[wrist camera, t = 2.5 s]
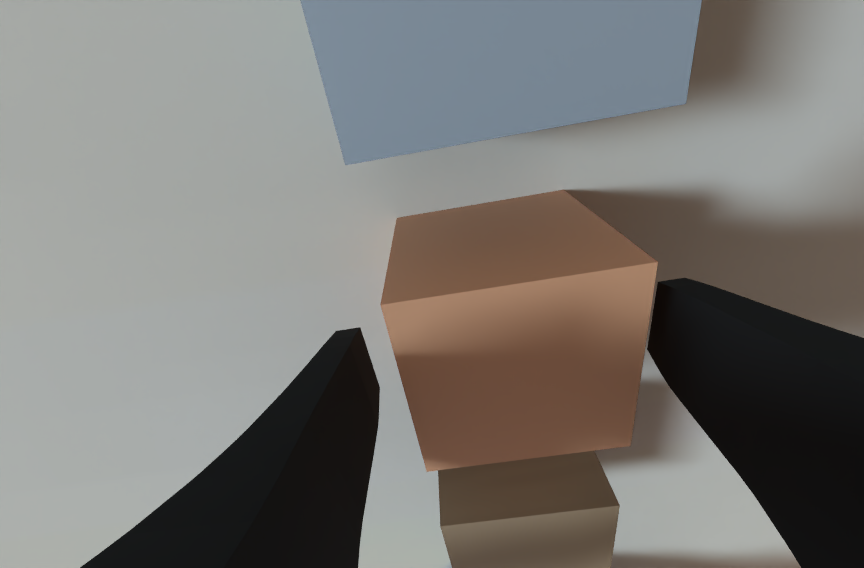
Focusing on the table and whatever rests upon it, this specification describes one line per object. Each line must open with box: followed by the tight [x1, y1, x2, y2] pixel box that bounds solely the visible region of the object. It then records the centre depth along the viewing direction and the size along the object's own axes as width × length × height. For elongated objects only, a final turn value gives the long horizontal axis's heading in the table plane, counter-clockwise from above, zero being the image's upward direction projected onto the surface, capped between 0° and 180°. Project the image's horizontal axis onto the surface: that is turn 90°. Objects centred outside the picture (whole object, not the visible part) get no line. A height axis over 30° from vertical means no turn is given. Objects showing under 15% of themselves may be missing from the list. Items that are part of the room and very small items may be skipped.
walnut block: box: [438, 451, 620, 568], centre depth 14 cm, size 5×5×5 cm
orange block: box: [381, 190, 658, 472], centre depth 10 cm, size 5×5×5 cm
